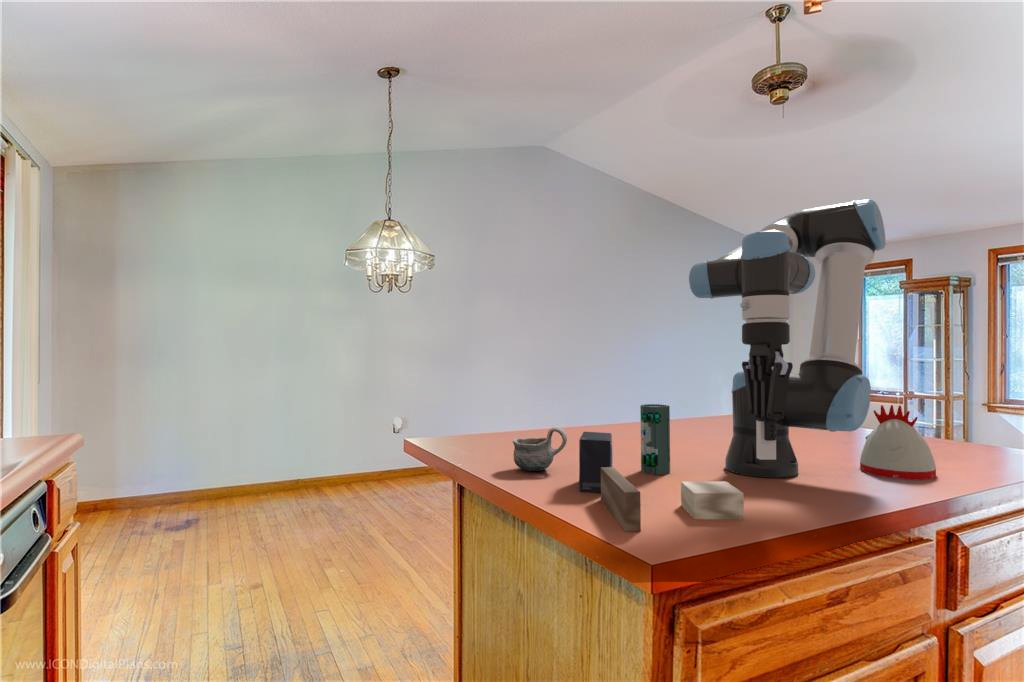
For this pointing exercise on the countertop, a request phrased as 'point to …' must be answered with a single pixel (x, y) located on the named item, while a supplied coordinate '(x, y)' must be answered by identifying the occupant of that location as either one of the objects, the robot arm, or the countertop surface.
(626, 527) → the walnut board
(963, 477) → the countertop surface
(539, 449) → the mug
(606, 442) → the small box
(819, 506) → the countertop surface
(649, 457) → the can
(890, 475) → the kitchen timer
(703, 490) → the maple block
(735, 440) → the robot arm
